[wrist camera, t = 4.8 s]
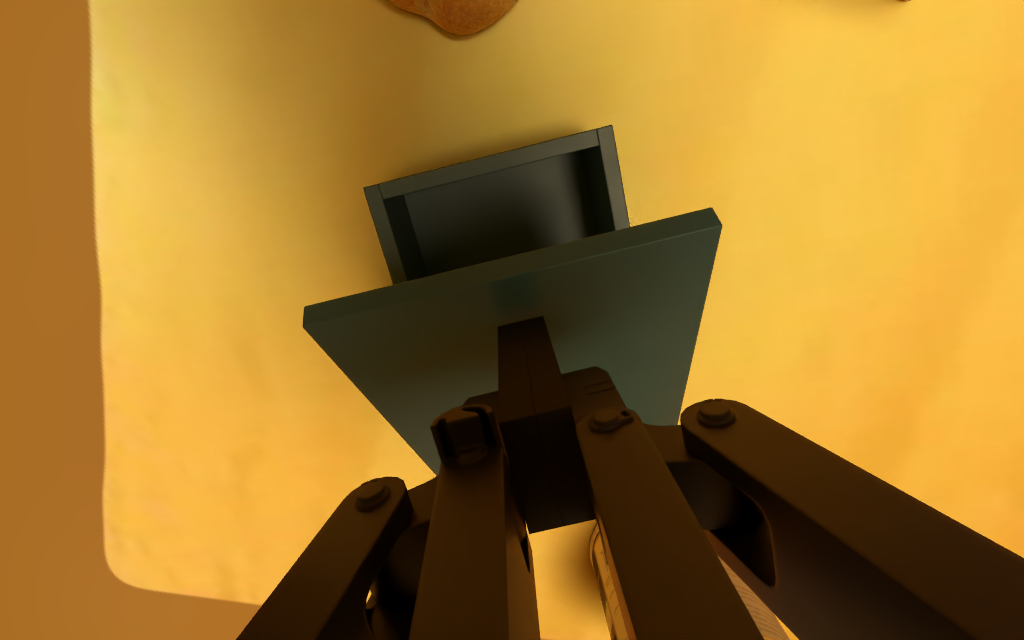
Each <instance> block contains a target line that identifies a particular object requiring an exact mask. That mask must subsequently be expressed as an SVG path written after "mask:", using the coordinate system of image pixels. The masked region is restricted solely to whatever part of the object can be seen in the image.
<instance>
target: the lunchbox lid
mask: <svg viewBox="0 0 1024 640" xmlns="http://www.w3.org/2000/svg"><path fill="white" fill-rule="evenodd" d="M721 229H722V224H721V222H720V220H719V218H718V217H717V215H716V213H715V212H714V210H713V208H707V209H703V210H698V211H694V212H690V213H686V214H682V215H678V216H674V217H670V218H666V219H661V220H657V221H653V222H649V223H645V224H641V225H637V226H633V227H629V228H625V229H620V230H616V231H612V232H608V233H604V234H600V235H596V236H592V237H588V238H584V239H579V240H575V241H571V242H567V243H563V244H559V245H555V246H551V247H547V248H543V249H538V250H534V251H530V252H526V253H522V254H518V255H514V256H510V257H506V258H501V259H497V260H493V261H489V262H485V263H481V264H477V265H473V266H469V267H465V268H460V269H456V270H452V271H448V272H444V273H440V274H436V275H432V276H428V277H424V278H419V279H415V280H411V281H407V282H403V283H399V284H395V285H391V286H387V287H383V288H378V289H374V290H370V291H366V292H362V293H358V294H354V295H350V296H346V297H341V298H337V299H333V300H329V301H325V302H321V303H317V304H313V305H309V306H305V307H304V315H303V328H304V329H305V330H306V331H307V332H308V333H309V335H310V336H311V337H312V338H313V339H314V340H315V341H316V342H317V343H318V345H319V346H320V347H321V348H322V349H323V350H324V351H325V352H326V353H327V355H328V356H329V357H330V358H331V359H332V360H333V361H334V362H335V363H336V365H337V366H338V367H339V368H340V369H341V370H342V371H343V372H344V373H345V375H346V376H347V377H348V378H349V379H350V380H351V381H352V382H353V383H354V385H355V386H356V387H357V388H358V389H359V390H360V391H361V392H362V393H363V395H364V396H365V397H366V398H367V399H368V400H369V401H370V402H371V403H372V405H373V406H374V407H375V408H376V409H377V410H378V411H379V412H380V413H381V414H382V416H383V417H384V418H385V419H386V420H387V421H388V422H389V423H390V424H391V426H392V427H393V428H394V429H395V430H396V431H397V432H398V433H399V434H400V436H401V437H402V438H403V439H404V440H405V441H406V442H407V443H408V444H409V446H410V447H411V448H412V449H413V450H414V451H415V452H416V453H417V454H418V456H419V457H420V458H421V459H422V460H423V461H424V462H425V463H426V464H427V466H428V467H429V468H430V469H431V470H432V471H433V472H434V473H435V474H436V476H438V475H439V470H440V465H441V460H440V457H439V454H438V450H437V447H436V444H435V441H434V438H433V435H432V432H431V429H430V426H431V424H432V422H433V421H434V420H435V419H436V418H437V417H438V416H440V415H441V414H443V413H445V412H446V411H448V410H450V409H453V408H456V407H459V406H462V405H463V404H464V402H465V401H466V400H467V399H468V398H469V397H473V396H477V395H481V394H486V393H490V392H494V391H498V326H503V325H507V324H511V323H515V322H519V321H523V320H527V319H532V318H536V317H540V316H543V317H544V320H545V323H546V326H547V330H548V333H549V336H550V339H551V343H552V346H553V349H554V352H555V356H556V359H557V362H558V365H559V369H560V372H561V374H564V373H568V372H572V371H577V370H581V369H585V368H589V367H594V366H597V367H599V368H601V369H603V370H605V371H607V372H608V373H609V375H610V377H611V379H612V382H613V383H614V385H615V386H616V389H617V390H618V392H619V394H620V396H621V398H622V400H623V401H624V403H625V405H626V407H627V408H628V409H631V410H634V411H635V412H636V413H637V414H638V415H639V417H640V418H641V420H642V422H643V423H645V424H650V425H656V426H670V425H677V424H678V420H679V415H680V411H681V406H682V402H683V397H684V393H685V389H686V384H687V380H688V375H689V371H690V366H691V362H692V358H693V353H694V349H695V344H696V340H697V335H698V331H699V327H700V322H701V318H702V313H703V309H704V304H705V300H706V296H707V291H708V287H709V282H710V278H711V273H712V269H713V265H714V260H715V256H716V251H717V247H718V243H719V238H720V234H721Z"/></svg>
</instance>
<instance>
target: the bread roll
mask: <svg viewBox="0 0 1024 640" xmlns="http://www.w3.org/2000/svg"><path fill="white" fill-rule="evenodd" d="M389 1H390V2H392V3H393V4H394V5H396V6H398V7H399V8H401V9H403V10H406V11H409V12H412V13H415V14H419V15H422V16H424V17H426V18H428V19H430V20H432V21H433V22H435V23H436V24H437V25H438V26H439V27H441V28H442V29H444V30H445V31H447V32H450V33H454V34H458V35H468V34H471V33H474V32H477V31H479V30H482V29H483V28H485V27H487V26H489V25H490V24H492V23H494V22H495V21H497V20H498V19H499V18H501V17H502V16H503V15H504V14H505V13H506V12H507V11H508V10H509V9H510V8H511V7H512V6H513V5H514V4H515V3H516V2H517V0H389Z"/></svg>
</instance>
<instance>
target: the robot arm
mask: <svg viewBox="0 0 1024 640" xmlns="http://www.w3.org/2000/svg"><path fill="white" fill-rule="evenodd" d="M680 422H681V425H670V426H656V425H650V424H645V423H643V422H642V420H641V418H640V417H639V415H638V414H637V413H636V412H635V411H634V410H631V409H628V408H627V407H626V405H625V403H624V401H623V400H622V398H621V396H620V394H619V392H618V390H617V389H616V386H615V385H614V383H613V382H612V379H611V377H610V375H609V373H608V372H607V371H605V370H603V369H601V368H599V367H597V366H594V367H589V368H585V369H581V370H577V371H572V372H568V373H564V374H561V372H560V369H559V365H558V362H557V359H556V356H555V352H554V349H553V346H552V343H551V339H550V336H549V333H548V330H547V326H546V323H545V320H544V317H543V316H540V317H536V318H532V319H527V320H523V321H519V322H515V323H511V324H507V325H503V326H498V391H494V392H490V393H486V394H481V395H477V396H473V397H469V398H468V399H467V400H466V401H465V402H464V404H463V405H462V406H459V407H456V408H453V409H450V410H448V411H446V412H445V413H443V414H441V415H440V416H438V417H437V418H436V419H435V420H434V421H433V422H432V424H431V426H430V429H431V432H432V435H433V438H434V441H435V444H436V447H437V450H438V454H439V457H440V460H441V465H440V470H439V475H438V476H436V477H435V478H433V479H432V480H430V481H428V482H426V483H424V484H421V485H419V486H417V487H414V488H412V489H410V490H407V488H406V486H405V483H404V480H402V479H400V478H398V477H383V478H376V479H373V480H370V481H367V482H365V483H363V484H362V485H361V486H359V487H358V488H356V489H355V490H353V491H352V492H351V493H350V494H349V495H348V496H347V497H346V498H345V499H344V500H343V501H342V502H341V504H340V505H339V506H338V507H337V509H336V510H335V511H334V513H333V514H332V515H331V517H330V518H329V519H328V520H327V522H326V523H325V524H324V526H323V527H322V528H321V530H320V531H319V532H318V533H317V535H316V536H315V537H314V539H313V540H312V541H311V543H310V544H309V545H308V547H307V548H306V549H305V550H304V552H303V553H302V554H301V556H300V557H299V558H298V560H297V561H296V562H295V563H294V565H293V566H292V567H291V569H290V570H289V571H288V573H287V574H286V575H285V576H284V578H283V579H282V580H281V582H280V583H279V584H278V586H277V587H276V588H275V589H274V591H273V592H272V593H271V595H270V596H269V597H268V599H267V600H266V601H265V603H264V604H263V605H262V607H261V608H260V609H259V610H258V612H257V613H256V614H255V616H254V617H253V618H252V620H251V621H250V622H249V624H248V625H247V626H246V627H245V629H244V630H243V631H242V632H241V634H240V635H239V637H238V638H237V639H236V640H540V630H539V620H538V610H537V599H536V589H535V578H534V568H533V557H532V549H531V546H530V542H529V538H528V535H527V531H526V524H527V527H528V531H529V534H532V533H536V532H540V531H545V530H549V529H554V528H558V527H563V526H567V525H572V524H576V523H581V522H585V521H589V520H594V519H596V520H597V524H598V529H599V533H600V537H601V542H602V546H603V550H604V554H605V559H606V563H607V565H608V566H609V570H610V573H611V577H612V581H613V584H614V588H615V591H616V595H617V599H618V602H619V606H620V610H621V613H622V617H623V621H624V624H625V628H626V631H627V635H628V639H629V640H764V638H763V636H762V634H761V633H760V631H759V629H758V627H757V625H756V624H755V622H754V620H753V618H752V617H751V615H750V613H749V611H748V609H747V608H746V606H745V604H744V602H743V600H742V599H741V597H740V595H739V593H738V592H737V590H736V588H735V586H734V584H733V583H732V581H731V579H730V577H729V575H728V574H727V572H726V570H725V568H724V567H723V565H722V563H721V561H720V559H719V558H718V556H719V557H720V558H721V559H722V560H723V561H724V563H725V564H726V565H727V566H728V567H729V568H730V569H731V570H732V571H733V572H734V573H735V574H736V575H737V576H738V577H739V578H740V579H741V580H742V581H743V582H744V583H745V584H746V585H747V586H748V587H749V588H750V589H751V590H752V591H753V592H754V593H755V594H756V595H757V596H758V598H759V599H760V600H761V601H762V602H763V603H764V604H765V605H766V606H767V607H768V608H769V609H770V610H771V611H772V612H773V613H774V614H775V615H776V616H777V617H778V618H779V619H780V620H781V621H782V622H783V623H784V624H785V625H786V626H787V627H788V628H789V629H790V630H791V631H792V633H793V634H794V635H795V636H796V637H797V638H798V639H799V640H1024V558H1022V557H1021V556H1019V555H1017V554H1015V553H1013V552H1012V551H1010V550H1008V549H1006V548H1004V547H1003V546H1001V545H999V544H997V543H995V542H994V541H992V540H990V539H988V538H986V537H984V536H983V535H981V534H979V533H977V532H975V531H974V530H972V529H970V528H968V527H966V526H965V525H963V524H961V523H959V522H957V521H955V520H954V519H952V518H950V517H948V516H946V515H945V514H943V513H941V512H939V511H937V510H936V509H934V508H932V507H930V506H928V505H927V504H925V503H923V502H921V501H919V500H917V499H916V498H914V497H912V496H910V495H908V494H907V493H905V492H903V491H901V490H899V489H898V488H896V487H894V486H892V485H890V484H888V483H887V482H885V481H883V480H881V479H879V478H878V477H876V476H874V475H872V474H870V473H869V472H867V471H865V470H863V469H861V468H860V467H858V466H856V465H854V464H852V463H850V462H849V461H847V460H845V459H843V458H841V457H840V456H838V455H836V454H834V453H832V452H831V451H829V450H827V449H825V448H823V447H821V446H820V445H818V444H816V443H814V442H812V441H811V440H809V439H807V438H805V437H803V436H802V435H800V434H798V433H796V432H794V431H793V430H791V429H789V428H787V427H785V426H783V425H782V424H780V423H778V422H776V421H774V420H773V419H771V418H769V417H767V416H765V415H764V414H762V413H760V412H758V411H756V410H754V409H753V408H751V407H749V406H747V405H745V404H743V403H740V402H737V401H733V400H725V399H715V400H713V399H708V400H705V401H702V402H698V403H695V404H693V405H691V406H689V407H687V408H686V409H685V410H684V411H683V412H682V414H681V419H680ZM525 520H526V521H525ZM717 555H718V556H717ZM369 590H370V591H371V593H372V595H371V596H370V598H369V600H368V602H367V603H366V599H367V596H368V593H369Z"/></svg>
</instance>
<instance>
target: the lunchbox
mask: <svg viewBox="0 0 1024 640" xmlns="http://www.w3.org/2000/svg"><path fill="white" fill-rule="evenodd" d="M363 190H364V193H365V196H366V199H367V202H368V206H369V209H370V212H371V215H372V218H373V222H374V225H375V228H376V231H377V234H378V237H379V241H380V244H381V247H382V250H383V253H384V257H385V260H386V263H387V266H388V269H389V273H390V276H391V279H392V282H393V285H395V284H399V283H403V282H407V281H411V280H415V279H419V278H424V277H428V276H432V275H436V274H440V273H444V272H448V271H452V270H456V269H460V268H465V267H469V266H473V265H477V264H481V263H485V262H489V261H493V260H497V259H501V258H506V257H510V256H514V255H518V254H522V253H526V252H530V251H534V250H538V249H543V248H547V247H551V246H555V245H559V244H563V243H567V242H571V241H575V240H579V239H584V238H588V237H592V236H596V235H600V234H604V233H608V232H612V231H616V230H620V229H625V228H629V227H630V224H629V218H628V212H627V207H626V201H625V195H624V189H623V184H622V178H621V172H620V166H619V161H618V155H617V149H616V143H615V138H614V132H613V126H612V125H609V126H605V127H601V128H597V129H593V130H589V131H585V132H581V133H577V134H573V135H569V136H565V137H561V138H557V139H553V140H549V141H546V142H542V143H538V144H534V145H530V146H526V147H522V148H518V149H514V150H510V151H506V152H502V153H498V154H494V155H490V156H486V157H482V158H478V159H474V160H470V161H466V162H462V163H458V164H454V165H450V166H446V167H442V168H438V169H435V170H431V171H427V172H423V173H419V174H415V175H411V176H407V177H403V178H399V179H395V180H391V181H387V182H383V183H379V184H375V185H371V186H367V187H364V188H363Z"/></svg>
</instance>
